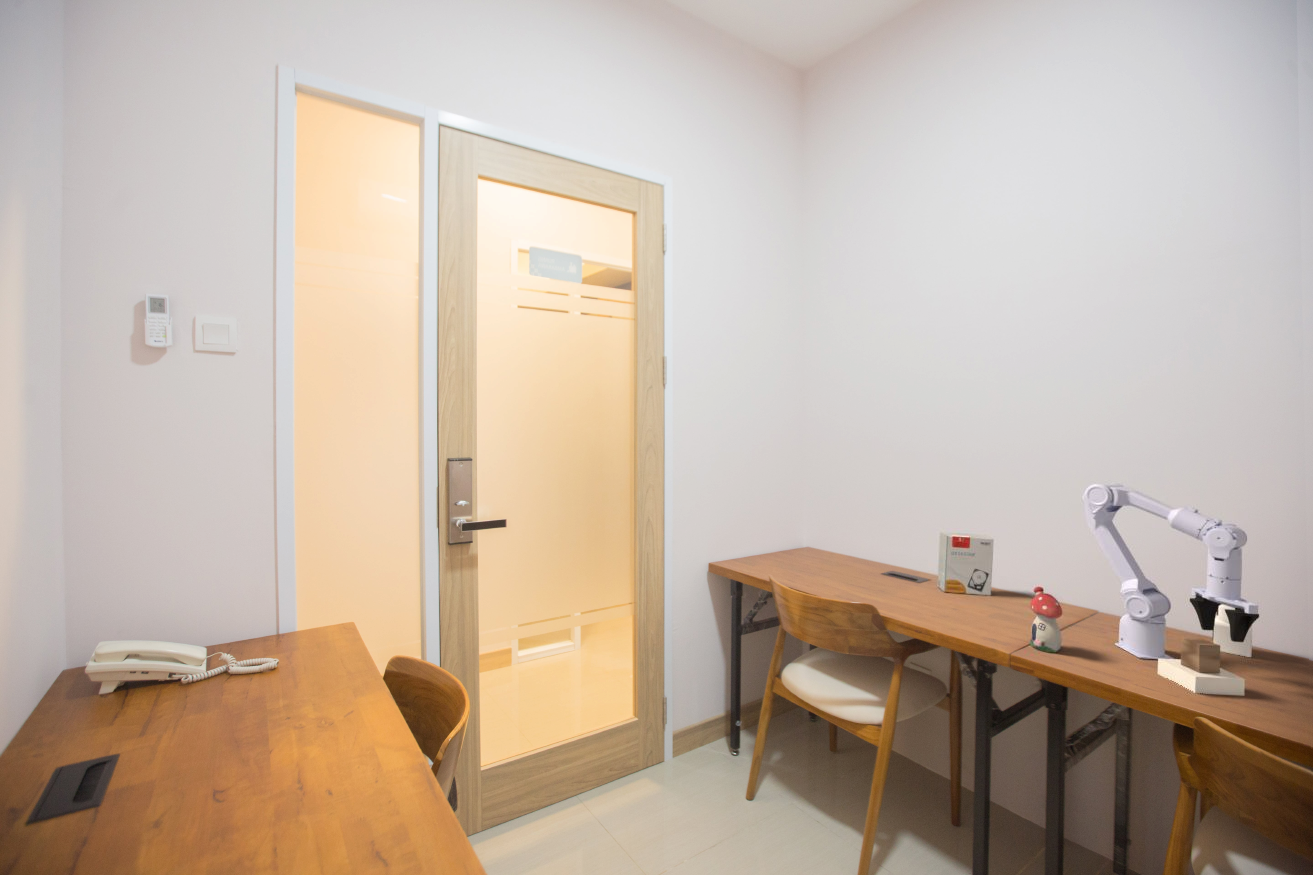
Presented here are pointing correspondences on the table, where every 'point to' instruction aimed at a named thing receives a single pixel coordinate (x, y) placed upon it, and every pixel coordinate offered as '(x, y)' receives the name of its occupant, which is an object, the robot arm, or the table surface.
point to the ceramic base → (1201, 679)
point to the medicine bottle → (1223, 635)
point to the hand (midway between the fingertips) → (1221, 635)
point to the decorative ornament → (1045, 622)
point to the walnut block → (1200, 655)
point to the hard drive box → (965, 563)
